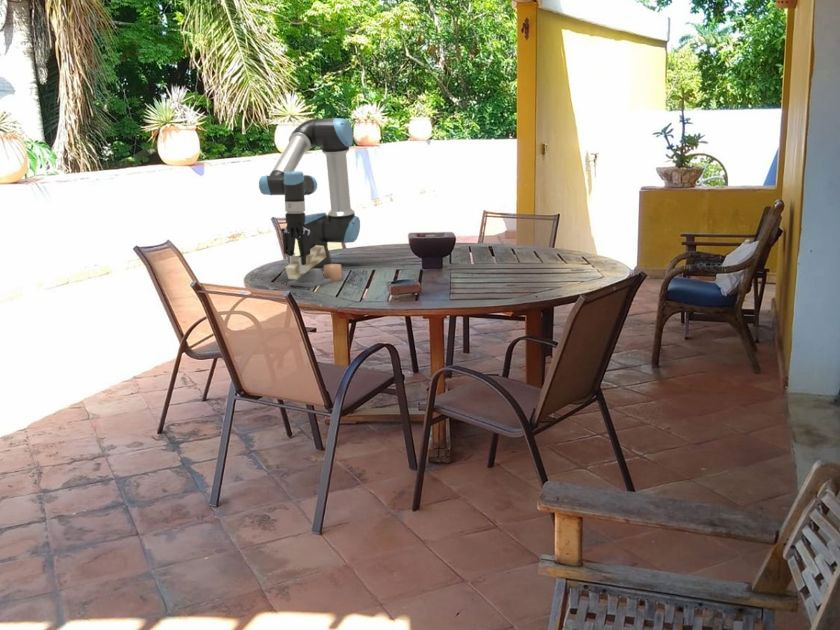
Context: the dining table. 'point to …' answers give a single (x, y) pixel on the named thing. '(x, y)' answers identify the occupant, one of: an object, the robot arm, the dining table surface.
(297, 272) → the bar
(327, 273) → the orange-brown rounded piece
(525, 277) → the dining table surface
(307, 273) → the fulcrum
